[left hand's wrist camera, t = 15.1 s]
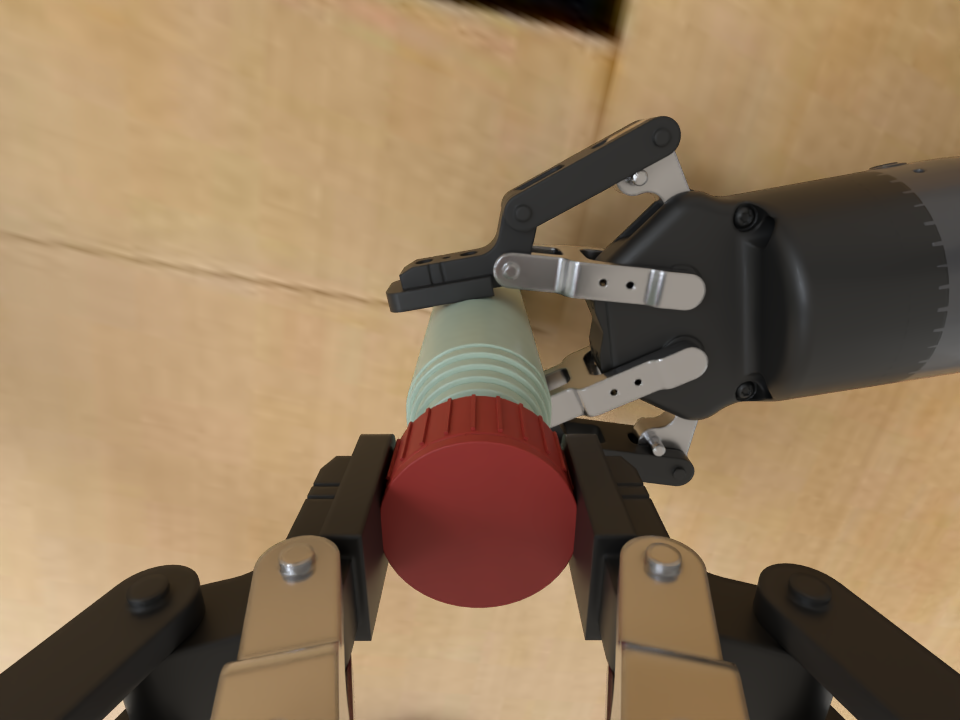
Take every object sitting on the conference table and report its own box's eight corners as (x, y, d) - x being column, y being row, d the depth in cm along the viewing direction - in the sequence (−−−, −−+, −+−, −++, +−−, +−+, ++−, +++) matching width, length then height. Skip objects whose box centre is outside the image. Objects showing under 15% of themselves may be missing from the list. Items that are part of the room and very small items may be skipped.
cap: (489, 356, 11) (490, 398, 10) (601, 480, 13) (623, 539, 11) (354, 464, 12) (331, 521, 10) (470, 570, 13) (469, 640, 12)
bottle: (538, 294, 26) (622, 503, 11) (484, 355, 28) (491, 623, 12) (473, 240, 26) (464, 384, 10) (420, 304, 27) (337, 525, 11)
